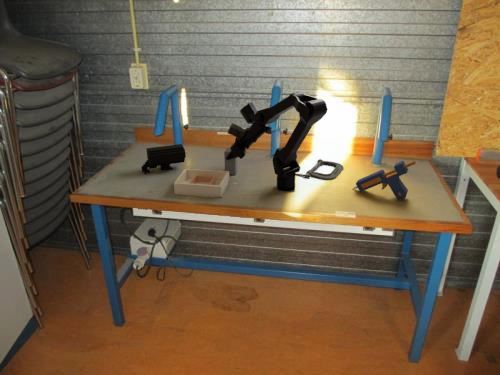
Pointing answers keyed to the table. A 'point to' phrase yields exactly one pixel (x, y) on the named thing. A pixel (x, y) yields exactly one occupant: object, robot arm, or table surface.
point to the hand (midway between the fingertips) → (227, 157)
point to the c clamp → (324, 176)
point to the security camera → (164, 157)
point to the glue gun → (387, 180)
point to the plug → (230, 163)
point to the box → (202, 183)
